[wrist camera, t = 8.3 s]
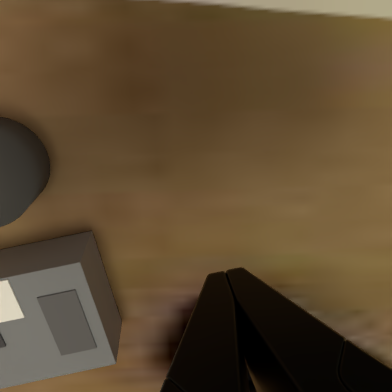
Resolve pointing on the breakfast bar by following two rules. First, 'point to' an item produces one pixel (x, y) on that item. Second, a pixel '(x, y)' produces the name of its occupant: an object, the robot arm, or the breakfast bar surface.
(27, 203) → the coil
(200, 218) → the breakfast bar surface
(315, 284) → the breakfast bar surface
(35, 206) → the breakfast bar surface
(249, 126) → the breakfast bar surface
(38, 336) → the grey flat block
